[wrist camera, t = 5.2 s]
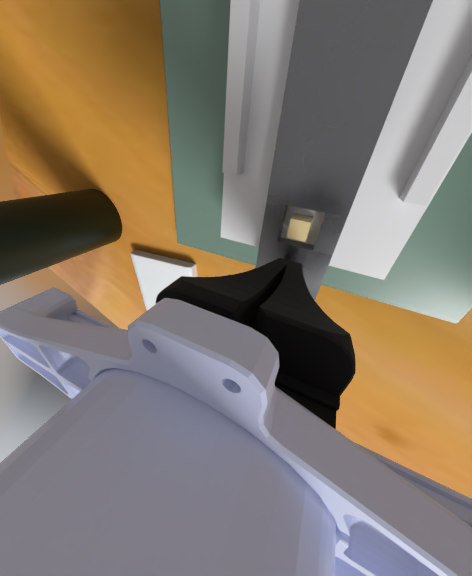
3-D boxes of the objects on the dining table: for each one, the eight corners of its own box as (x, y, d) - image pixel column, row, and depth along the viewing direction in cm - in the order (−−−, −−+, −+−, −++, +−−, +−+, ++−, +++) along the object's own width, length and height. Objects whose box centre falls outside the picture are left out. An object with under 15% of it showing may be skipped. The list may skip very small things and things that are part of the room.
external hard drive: (199, 261, 22) (205, 343, 29) (139, 248, 25) (158, 325, 32) (190, 268, 21) (199, 352, 28) (128, 253, 23) (150, 333, 30)
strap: (360, -312, 5) (362, -387, 4) (595, -423, 4) (649, -549, 3) (257, 274, 14) (252, 281, 14) (316, 292, 13) (314, 300, 13)
